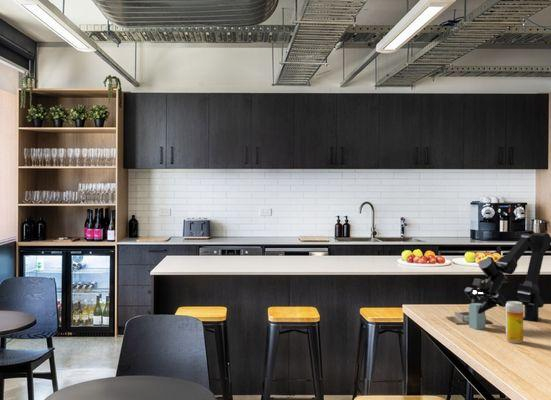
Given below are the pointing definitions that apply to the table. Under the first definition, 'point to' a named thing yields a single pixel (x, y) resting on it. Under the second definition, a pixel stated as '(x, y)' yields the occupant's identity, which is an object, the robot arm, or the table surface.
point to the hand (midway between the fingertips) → (474, 312)
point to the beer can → (514, 322)
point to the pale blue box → (476, 316)
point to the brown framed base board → (463, 318)
